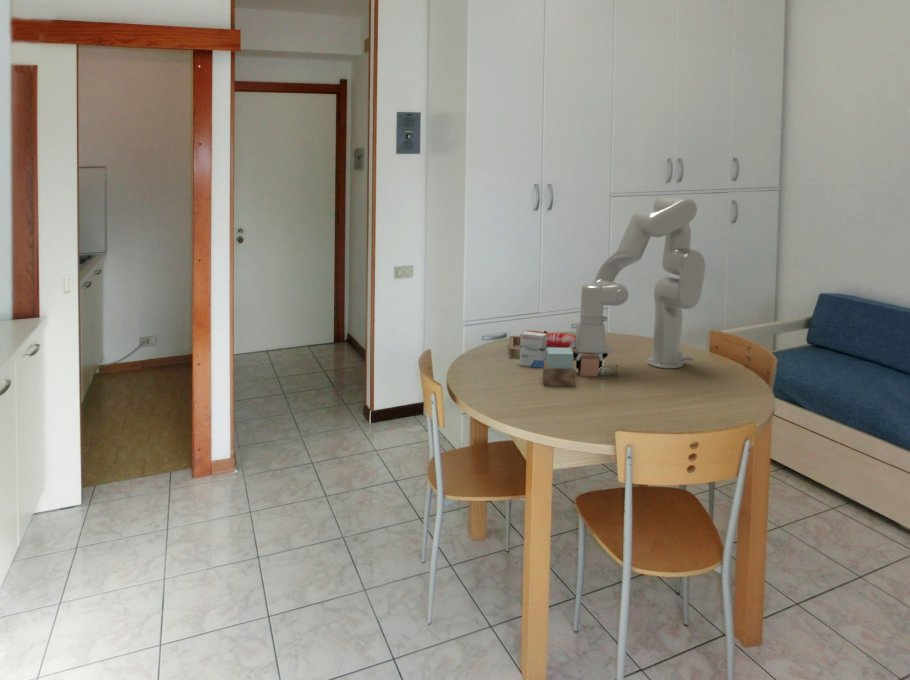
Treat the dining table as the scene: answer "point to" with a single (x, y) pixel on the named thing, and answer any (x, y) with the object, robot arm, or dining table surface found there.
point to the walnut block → (558, 376)
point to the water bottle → (557, 339)
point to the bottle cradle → (516, 351)
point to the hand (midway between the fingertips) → (588, 370)
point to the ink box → (532, 349)
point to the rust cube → (589, 365)
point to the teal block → (559, 358)
